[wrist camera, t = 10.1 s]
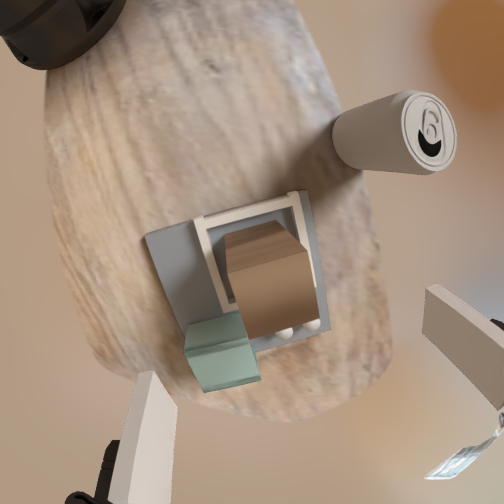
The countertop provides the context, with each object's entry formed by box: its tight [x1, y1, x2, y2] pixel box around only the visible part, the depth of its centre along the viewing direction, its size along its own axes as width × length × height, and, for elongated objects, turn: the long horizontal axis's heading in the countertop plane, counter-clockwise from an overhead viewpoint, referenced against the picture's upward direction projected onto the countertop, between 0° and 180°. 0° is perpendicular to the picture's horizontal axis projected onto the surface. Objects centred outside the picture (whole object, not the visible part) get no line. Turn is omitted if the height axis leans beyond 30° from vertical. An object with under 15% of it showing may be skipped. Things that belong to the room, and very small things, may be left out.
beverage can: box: [332, 90, 457, 175], centre depth 20 cm, size 6×6×12 cm
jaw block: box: [225, 220, 320, 340], centre depth 22 cm, size 5×5×10 cm
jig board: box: [144, 190, 331, 352], centre depth 28 cm, size 16×16×3 cm
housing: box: [183, 312, 261, 393], centre depth 27 cm, size 6×6×5 cm
